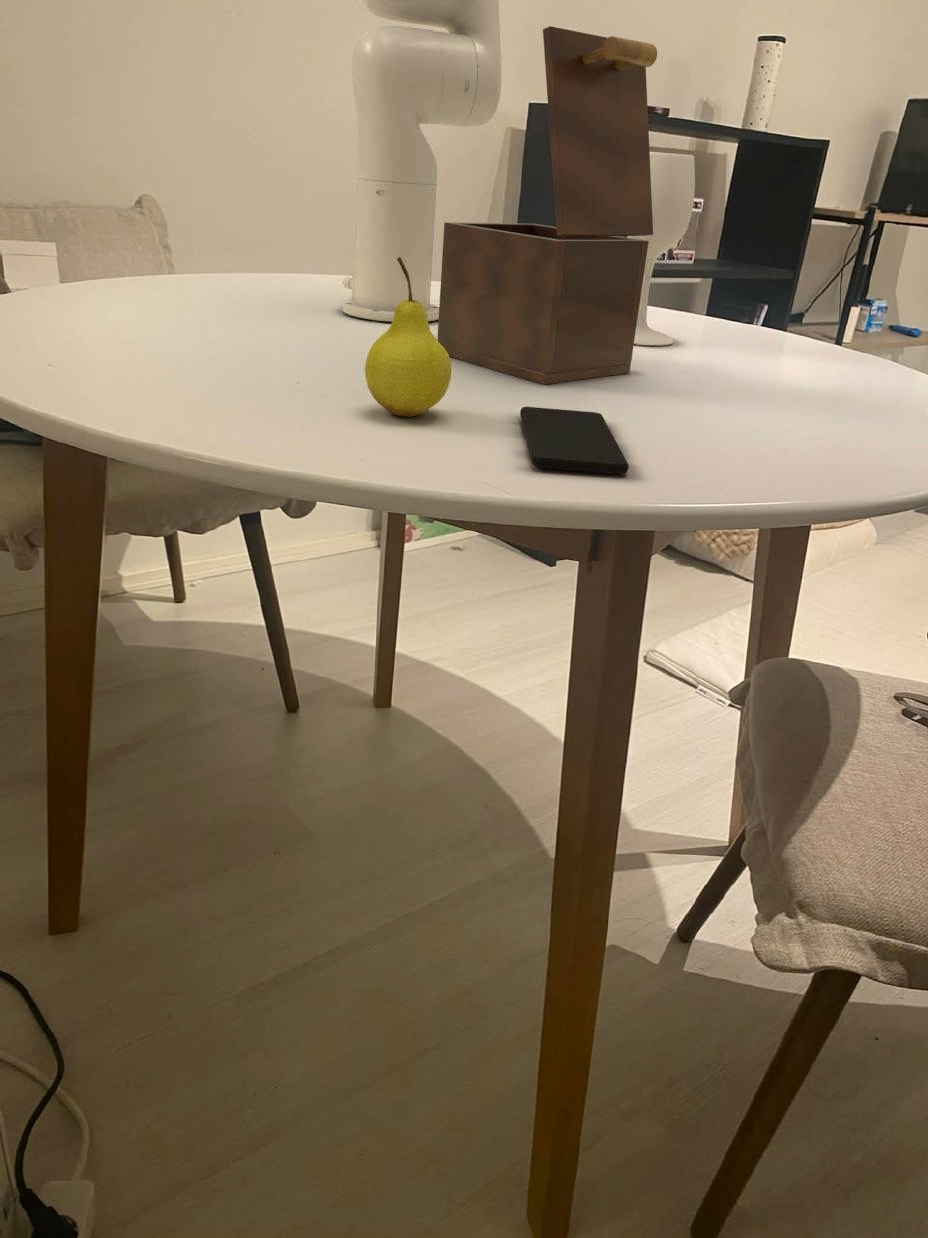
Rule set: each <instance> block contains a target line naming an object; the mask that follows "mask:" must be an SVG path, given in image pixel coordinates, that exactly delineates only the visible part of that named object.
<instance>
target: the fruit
mask: <svg viewBox="0 0 928 1238" xmlns="http://www.w3.org/2000/svg"><path fill="white" fill-rule="evenodd" d="M397 261H398V262H399V264H400V265H401V268H402V271H403V272H404V274H405V276H406V279H407V282H408V288H409V300H404V301H401V302H400V303H399V304H398V306H397V308H396V310H395V313H394V318H393V321H392V322H391V324H390V326H389V328H387V330H386V331H384V332H383V333H382V334H381V335H380V336H379V337H378V338H377V339H376V340H375V341H374V342H373V343H372V344H371V346H370V347H369V350H368V353H367V357H366V359H365V365H364V366H365V367H364V373H365V375H364V376H365V381H366V384H367V389H368V390H369V392H370V395H371V396H372V397H373V399H374V400H375V401H376V402H377V403H378V405H380V407H382V408H383V409H384V410H385V411H387V412H388V413H390V414H392V415H394V416H397V417H406V418H413V417H416V416H419V415H421V414H422V413H424V412H426V411H427V410H429V409H431V408H433V407H434V406H435V405H437V404H438V403H439V402H440V401H441V400H442V398H443V397H444V396H445V395H446V393H447V390H448V389H449V387H450V383H451V379H452V360H451V357H449V354H448V353H447V351H446V350H445V348H444V347H443V346H442V345H441V344H440V343H439V342H438V340H437V338H436V337H435V335H433V333H432V332H431V328H430V324H429V321H428V317H427V313H426V311H425V309H424V307H423V305H422V304H421V303H420V302H418V301H416V300H412V292H411V285H410V279H409V275H408V272H407V270H406V268H405V266H404V264H403V262H402V260H401V258H400V257H398V259H397Z"/></svg>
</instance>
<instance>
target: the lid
mask: <svg viewBox="0 0 928 1238" xmlns="http://www.w3.org/2000/svg"><path fill="white" fill-rule="evenodd" d="M542 37H543V53H544V67H545V80H546V95H547V109H548V110H547V111H548V124H549V125H548V126H549V138H550V153H551V155H550V156H551V166H552V169H551V170H552V183H553V196H554V211H555V227H556V228H557V236H619V237H627V236H649V235H653V218H652V196H651V174H650V152H651V151H650V132H649V130H650V129H649V109H648V108H649V107H648V88H647V86H648V85H647V68H650V67H652V66H653V65H654V64H655V62H656V61H657V58H658V50H657V47H656V46H655V44H653V43H648V42H643V41H638V40H633V39H629V38H623V37H619V36H613V35H611V36H608V37H607V36H601V35H596V34H591V33H586V32H582V31H577V30H571V29H567V28H561V27H556V26H552V25H550V26H547V27H545V28H543V29H542Z"/></svg>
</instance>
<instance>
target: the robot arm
mask: <svg viewBox="0 0 928 1238" xmlns="http://www.w3.org/2000/svg"><path fill="white" fill-rule="evenodd" d="M362 1H363V3H364V5H365V8H366V9H367V10H368V11H369V12H370V13H371V14H373V15H374V16H376V17H379V18H381V19H385V20H388V21H394V22H400V23H407V24H412V25H413V24H415V25H422V26H431V27H437V28H443V29H446V30H447V32H444V31H436V30H433V29H425V28H419V27H411V26H402V25H401V26H400V25H381V26H376V27H374V28H370V29H369V30H367V31H365V32H364V33H363V34H361V36H360V37H359V38H358V39H357V41H356V43H355V45H354V48H353V52H352V57H351V78H352V87H353V95H354V103H355V112H356V123H357V124H356V126H357V186H356V189H357V190H356V191H357V192H356V229H355V230H356V232H355V234H356V235H355V236H356V237H355V270H354V271H353V272H351V277H349V276H347V277H344V279H343V281H342V284H343V285H342V286H343V287H344V288H346V289H350V290H351V298H349V299H346V300H344V301H342V305H341V307H342V308H341V311H342V312H343V313H344V314H346V315H348V316H351V317H354V318H359V319H364V320H371V321H378V322H390V323H392V321H393V318H394V313H395V310H396V308H397V306H398V304H399V303H400V302H401V301H404V300H409V288H408V282H407V279H406V276H405V274H404V272H403V271H402V268H401V265H400V264H399V262H398V261H397V259H398V257H400V258H401V260H402V262H403V264H404V266H405V268H406V270H407V272H408V275H409V279H410V285H411V292H412V300H416V301H418V302H420V303H421V304H422V305H423V307H424V309H425V311H426V313H427V317H428V322H434V321H437V320H438V321H439V305H435V304H433V303H431V291H432V276H433V275H432V273H433V256H434V238H435V237H434V236H435V218H436V202H437V186H438V185H437V181H438V180H437V178H438V168H437V167H438V165H437V161H436V157H435V155H434V151H433V150H432V148H431V145H430V144H429V142H428V140H427V138H426V136H425V135H424V133H423V131H422V129H421V128H420V125H428V124H430V125H432V124H433V125H443V126H451V127H452V126H454V127H466V128H467V127H469V128H472V127H473V128H474V127H479V126H483V125H485V124H487V123H488V122H489V121H490V120H491V119H492V118H493V117H494V115H495V114H496V112H497V109H498V106H499V102H500V97H501V91H502V90H501V89H502V53H501V52H502V50H501V49H502V48H501V27H500V25H501V23H500V2H499V1H500V0H362Z"/></svg>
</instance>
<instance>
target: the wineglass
mask: <svg viewBox="0 0 928 1238" xmlns="http://www.w3.org/2000/svg"><path fill="white" fill-rule="evenodd" d="M650 174H651V196H652V218H653V235H649V236H626V238H633V239H640V240H646V241H649V243H648V250H647V257H646V264H645V270H644V277H643V284H642V291H641V298H640V305H639V312H638V318H637V325H636V332H635V339H634V345H637V346H649V347H650V346H652V347H655V346H656V347H657V346H658V347H659V346H668V345H673V343H674V340H673V338H671V337H670V336H669V335H667V334H665V333H663V332H661V331H658V330H655V329H652V328H650V326H649V325H648V321H647V319H648V317H647V316H648V315H647V313H648V303H649V294H650V286H651V282H652V281H651V280H652V276H653V275H652V274H653V271H654V267H655V264H656V261H657V259H658V257H659V256H661V255H662V254H664V253H665V252H667V251H669V250H670V249H672V248H673V247H674V246H675V245H677V244H678V243H679V242H680V241H681V240H682V238H683V237H684V236H685V234H686V233H687V230H688V228H689V225H690V222H691V218H692V214H693V208H694V204H695V203H694V201H695V193H696V192H695V191H696V165H695V156H694V155H692V154H683V153H682V154H681V153H669V152H668V153H667V152H657V151H650Z"/></svg>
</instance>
